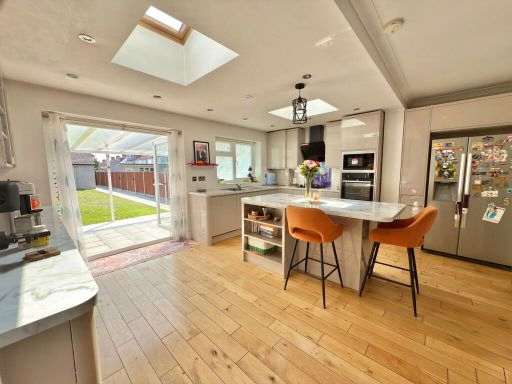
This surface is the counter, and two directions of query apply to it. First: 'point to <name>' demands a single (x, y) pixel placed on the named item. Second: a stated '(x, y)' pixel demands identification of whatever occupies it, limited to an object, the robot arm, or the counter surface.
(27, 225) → the coffee box
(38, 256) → the walnut trivet
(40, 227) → the supplement bottle
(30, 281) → the counter surface
